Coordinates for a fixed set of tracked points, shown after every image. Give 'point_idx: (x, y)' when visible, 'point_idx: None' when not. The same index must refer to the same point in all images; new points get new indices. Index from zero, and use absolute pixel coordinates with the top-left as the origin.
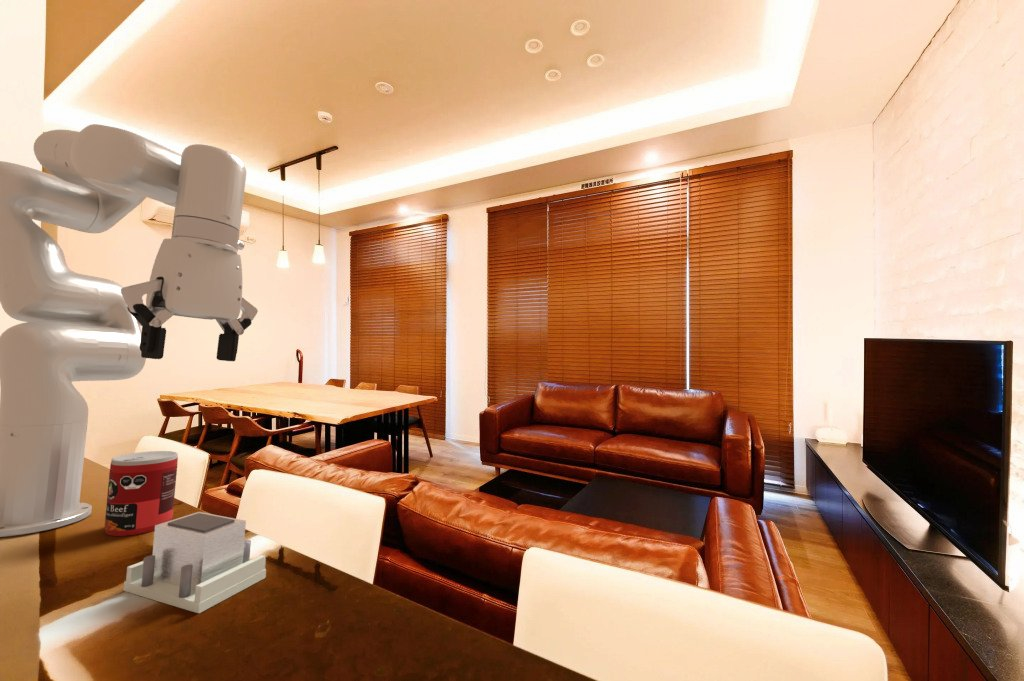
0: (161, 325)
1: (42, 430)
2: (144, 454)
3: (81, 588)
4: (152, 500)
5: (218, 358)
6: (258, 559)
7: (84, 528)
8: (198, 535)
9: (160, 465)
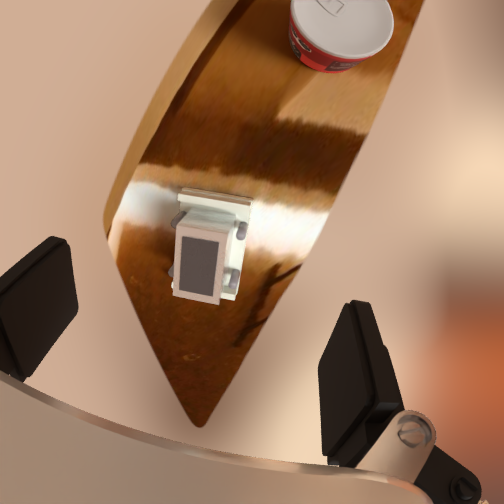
0: (9, 373)
1: None
2: None
3: (177, 143)
4: (317, 63)
5: (342, 313)
6: (226, 298)
7: None
8: (173, 287)
9: (332, 56)
